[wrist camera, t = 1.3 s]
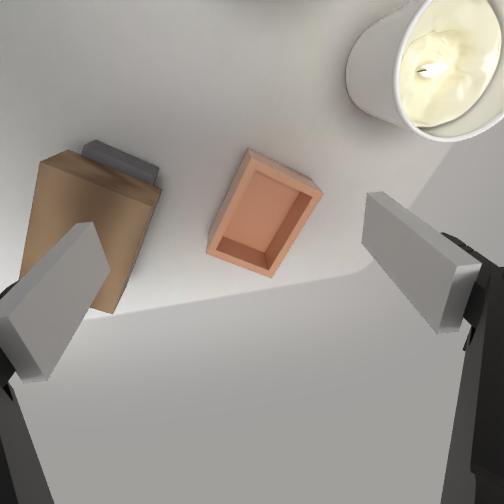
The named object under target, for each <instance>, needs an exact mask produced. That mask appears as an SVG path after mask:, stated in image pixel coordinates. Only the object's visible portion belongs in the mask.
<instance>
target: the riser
mask: <svg viewBox="0 0 504 504" xmlns="http://www.w3.org/2000/svg"><path fill="white" fill-rule="evenodd" d="M82 156H84V157H87V158H89V159H92V160H94V161H96V162H99V163H101V164H103V165H106V166H108V167H110V168H113V169H115V170H118V171H120V172H122V173H125V174H127V175H129V176H132V177H134V178H136V179H139V180H141V181H144V182H146V183H148V184H151V185H153V184H154V181H155V178H156V176H157V173H158V170H159V168H158V167H156V166H154V165H151V164H149V163H147V162H145V161H142V160H140V159H138V158H136V157H133V156H131V155H129V154H126V153H124V152H122V151H120V150H117V149H115V148H113V147H111V146H108V145H106V144H104V143H102V142H99V141H97V140H95V141H92V142H90V143H88V144H86V145H84V147H83V151H82Z"/></svg>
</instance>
